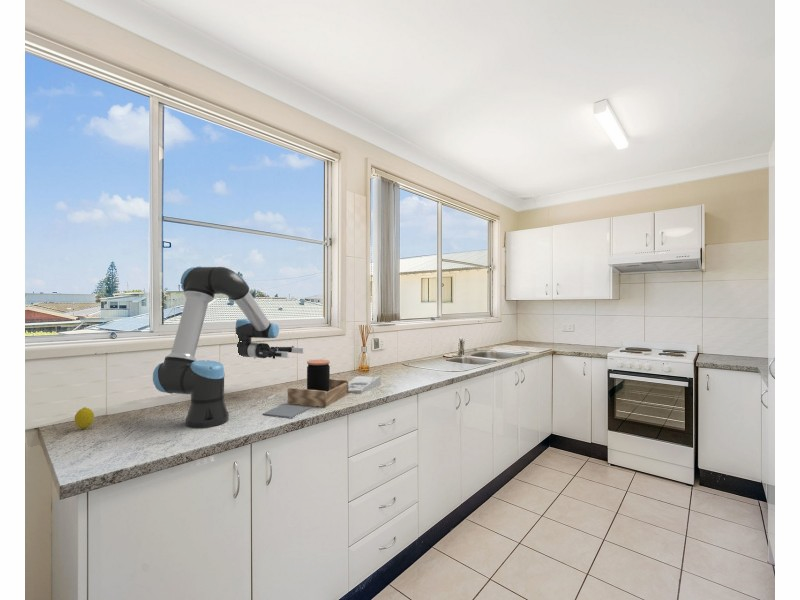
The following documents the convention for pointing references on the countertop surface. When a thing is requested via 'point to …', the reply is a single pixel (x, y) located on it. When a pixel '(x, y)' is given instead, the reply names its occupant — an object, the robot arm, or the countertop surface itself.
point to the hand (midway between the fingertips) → (296, 352)
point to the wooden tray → (319, 394)
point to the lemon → (84, 418)
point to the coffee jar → (318, 375)
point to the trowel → (363, 384)
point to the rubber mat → (286, 411)
